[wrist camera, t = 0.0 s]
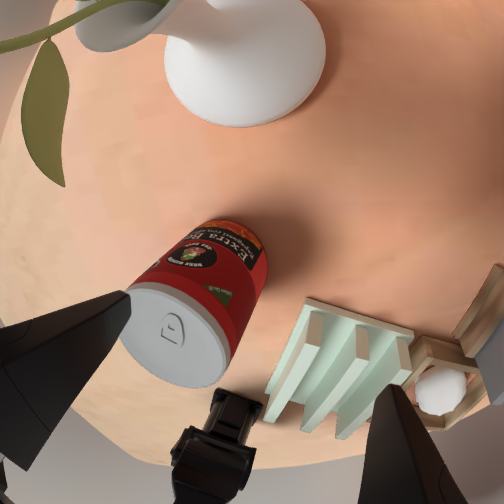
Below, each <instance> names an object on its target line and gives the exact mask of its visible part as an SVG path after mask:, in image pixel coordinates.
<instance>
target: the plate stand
mask: <svg viewBox="0 0 504 504" xmlns="http://www.w3.org/2000/svg"><path fill="white" fill-rule="evenodd" d="M503 318H504V269H503V268H501V267H499V266H497V265H495V264H494V266H493V268H492V270H491V272H490V274H489V276H488V277H487V279H486V281H485V283H484V285H483V286H482V288H481V290H480V291H479V293H478V295H477V296H476V298H475V300H474V301H473V303H472V304H471V306H470V308H469V309H468V311H467V312H466V314H465V315H464V317H463V318H462V320H461V321H460V323H459V324H458V325H457V327H456V328H455V330H454V331H453V333H452V334H453V336H454V338H455V339H459V341H460V344H461V347H462V349H463V352H464V355H465V357H470V358H474V357H475V355H476V354H477V353H478V352H479V350H480V349H481V348H482V347H483V345H484V344H485V343H486V341H487V340H488V339H489V337H490V336H491V335H492V333H493V332H494V331H495V329H496V328H497V326H498V325H499V323H500V322H501V320H502V319H503Z"/></svg>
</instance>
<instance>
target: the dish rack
mask: <svg viewBox="0 0 504 504" xmlns="http://www.w3.org/2000/svg"><path fill="white" fill-rule="evenodd" d="M414 338H415V336H414V332H413V330H410V329H406V328H403V327H399V326H396V325H393V324H389V323H386V322H383V321H380V320H376V319H373V318H370V317H366V316H363V315H360V314H357V313H354V312H350V311H347V310H344V309H341V308H338V307H335V306H331V305H328V304H325V303H322V302H319V301H316V300H313V299H310V298H307V297H306V299H305V301H304V304H303V306H302V308H301V311H300V313H299V315H298V318H297V320H296V322H295V325H294V327H293V329H292V332H291V334H290V336H289V338H288V341H287V343H286V345H285V347H284V350H283V352H282V354H281V356H280V358H279V361H278V363H277V365H276V367H275V369H274V371H273V373H272V375H271V378H270V380H269V382H268V384H267V386H266V389H265V392H264V393H266V394H269V395H270V398H269V401H268V405H267V408H266V411H265V415H264V418H263V421H266V422H270V423H274V422H275V420H276V419H277V418H278V416H279V415H280V413H281V411H282V410H283V408H284V407H285V405H286V404H287V402H288V401H292V402H296V403H299V404H303V405H305V406H304V412H303V417H302V422H301V427H300V431H303V432H307V433H311V432H312V430H313V429H314V428H315V427H316V426H317V425H318V424H319V423H320V422H321V421H322V420H323V418H324V417H325V416H326V415H327V414H328V413H329V412H330V411H331V412H336V413H338V414H337V424H336V433H335V439H341V440H345V439H346V438H348V437H349V436H350V435H351V434H352V433H353V432H354V431H355V430H357V429H358V428H359V427H360V426H361V425H362V424H363V423H364V422H365V421H366V420H367V419H368V418H369V417H370V416H372V413H373V408H374V402H375V399H376V397H377V396H378V395H379V394H380V393H381V392H382V390H383V389H384V388H385V387H386V386H387V385H388V384H390V383H392V384H397V385H401V384H402V383H403V382H404V381H405V380H406V379H407V377H408V376H409V375H410V374H411V373H412V366H411V361H410V356H409V351H408V346H409V345H410V344H411V342H412V341H413V339H414Z"/></svg>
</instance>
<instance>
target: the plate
mask: <svg viewBox="0 0 504 504" xmlns="http://www.w3.org/2000/svg"><path fill="white" fill-rule="evenodd" d="M475 359H476V362H477V365H478V367H479V370H480V373H481V376H482V379H483V382H484V385H485V388H486V391H487V394H488V397H489V401H490V404H493V405H501V404H502V403H503V402H504V318H503V319H502V320H501V322H500V323H499V325H498V326H497V328H496V329H495V331H494V332H493V333H492V335H491V336H490V337H489V339H488V340H487V341H486V343H485V344H484V345H483V347H482V348H481V349H480V350H479V352H478V353H477V354H476V355H475Z"/></svg>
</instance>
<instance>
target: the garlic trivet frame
mask: <svg viewBox="0 0 504 504" xmlns="http://www.w3.org/2000/svg"><path fill="white" fill-rule="evenodd" d="M409 356H410V361H411V366H412V373H411V374H410V375H409V376H408V377H407V379H406V380H405V381H404V382H403V383H402V384H401V385H400V386H401V387H402V389H403V390H404V392H405V391H406V390H407V389H408V388H409V387H410V386H411V384H412V383H413V382H414V381H415V380H416V379H417V378H418V377H419V375H420V374H421V373H422V372H423V371H424V370H425V368H426V367H427V366H428V365H429V364H431V365H435V366H440V367H444V368H449V369H453V370H458V371H463V372H468V373H473V374H478V375H477V376H476V377H475V378H474V379H473V380H472V381H471V382H470V383H469V385H468V386H467V387H466V394H465V395H464V397H463V398H462V400H461V402H460V403H459V404H458V405H457V406H456V407H455V408H454V411H450V412H447V413H444V414H442V415H441V416H438V415H432V414H428V413H427V412H424V411H422V410H421V409H420V407H415V406H413V407H414V409H415V410H416V412H417V414H418V416H419V417H420V419H421V421H422V423H423V424H424V426H425V428H426V430H431V431H447V430H448V429H449V428H450V427H452V426H453V425H454V424H455V423H456V422H458V421H459V420H460V419H461V418H462V417H463V416H464V415H466V414H467V413H468V412H469V411H470V410H471V409H472V408H473V407H474V406H475V405H476V404H478V403H479V402H480V401H481V400H482V399H483V398H484V397H485V396H486V395H487V391H486V388H485V385H484V382H483V379H482V376H481V373H480V370H479V367H478V365H477V362H476V359H475V357H474V358H470V357H465V355H464V352H463V349H462V347H461V346H460V345H456V344H452V343H449V342H445V341H442V340H438V339H435V338H431V337H427V336H424V335H421V336H420V338H419V339H418V341H417V342H416V343H415V345H414V346H413V347H412V349H411V350H410V351H409ZM371 418H372V416H370V417H369V418H368V419H367V422H369V423H371Z"/></svg>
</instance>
